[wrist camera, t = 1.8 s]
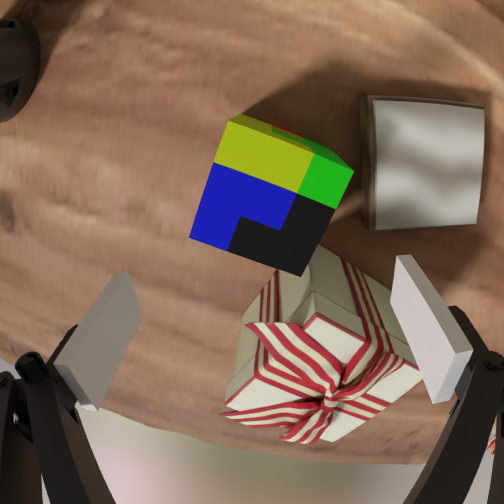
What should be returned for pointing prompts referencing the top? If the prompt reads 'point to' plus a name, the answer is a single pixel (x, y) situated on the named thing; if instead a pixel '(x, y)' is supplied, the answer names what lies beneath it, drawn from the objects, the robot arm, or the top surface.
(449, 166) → the stand
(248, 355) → the gift box
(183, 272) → the top surface
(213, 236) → the puzzle toy
